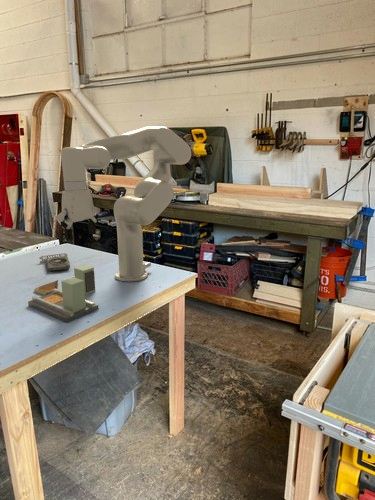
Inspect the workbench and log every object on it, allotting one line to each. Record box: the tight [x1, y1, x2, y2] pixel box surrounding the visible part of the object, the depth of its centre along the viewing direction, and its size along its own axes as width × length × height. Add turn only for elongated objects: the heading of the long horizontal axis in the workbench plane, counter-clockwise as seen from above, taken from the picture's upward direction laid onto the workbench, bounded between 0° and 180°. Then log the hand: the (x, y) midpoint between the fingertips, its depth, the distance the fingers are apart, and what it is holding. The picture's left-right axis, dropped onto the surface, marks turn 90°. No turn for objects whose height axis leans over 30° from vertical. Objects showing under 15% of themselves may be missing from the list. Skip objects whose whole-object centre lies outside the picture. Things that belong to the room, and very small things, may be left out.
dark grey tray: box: [27, 288, 99, 324], centre depth 120 cm, size 12×20×3 cm, turn 54°
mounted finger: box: [60, 276, 86, 312], centre depth 116 cm, size 4×6×9 cm
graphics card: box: [39, 252, 71, 272], centre depth 160 cm, size 17×4×12 cm
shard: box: [33, 279, 59, 296], centre depth 135 cm, size 11×8×2 cm
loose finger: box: [73, 264, 96, 296], centre depth 132 cm, size 4×6×9 cm
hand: (81, 236), depth 128 cm, fingers open, 9 cm apart
